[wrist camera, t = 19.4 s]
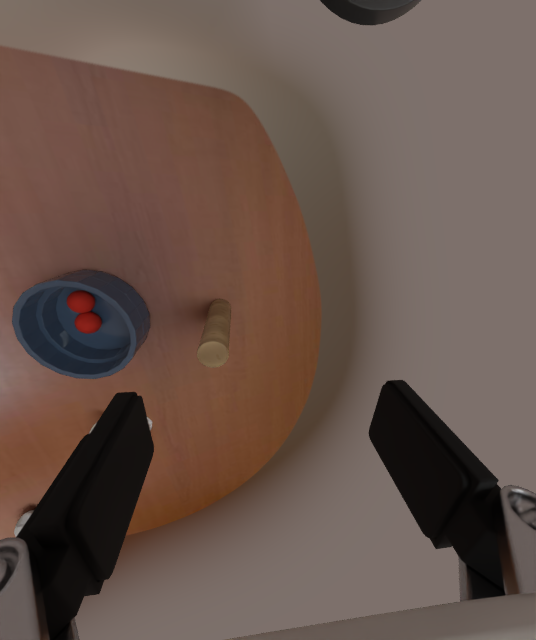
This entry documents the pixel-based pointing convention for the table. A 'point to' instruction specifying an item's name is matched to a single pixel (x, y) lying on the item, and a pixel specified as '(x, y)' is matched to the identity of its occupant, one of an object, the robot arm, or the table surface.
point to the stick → (215, 335)
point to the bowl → (66, 340)
